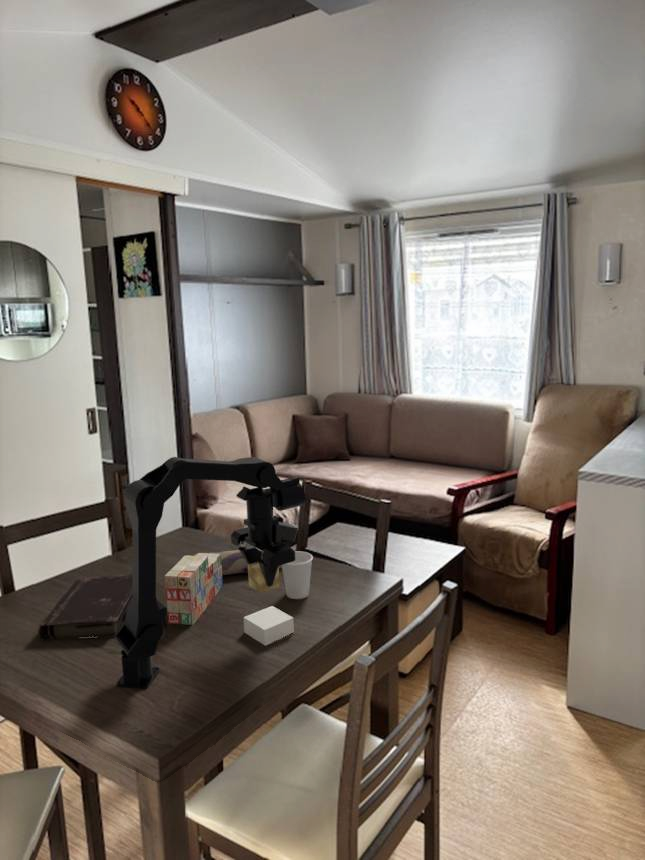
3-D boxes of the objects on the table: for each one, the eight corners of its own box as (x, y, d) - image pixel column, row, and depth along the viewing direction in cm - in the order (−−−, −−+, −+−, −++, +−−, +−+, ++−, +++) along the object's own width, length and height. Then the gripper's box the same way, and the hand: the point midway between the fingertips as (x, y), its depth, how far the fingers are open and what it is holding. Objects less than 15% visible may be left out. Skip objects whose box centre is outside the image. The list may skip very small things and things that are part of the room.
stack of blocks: (200, 585, 170) (198, 541, 168) (223, 586, 169) (220, 542, 167) (167, 624, 150) (164, 575, 147) (192, 626, 148) (189, 576, 146)
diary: (38, 644, 143) (35, 623, 142) (76, 594, 168) (74, 577, 167) (121, 639, 144) (119, 619, 143) (147, 591, 168) (145, 573, 167)
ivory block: (293, 634, 144) (293, 617, 143) (265, 646, 139) (264, 630, 138) (272, 621, 150) (272, 605, 149) (244, 633, 145) (243, 617, 144)
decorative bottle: (194, 583, 171) (193, 560, 170) (193, 572, 179) (192, 550, 177) (289, 572, 177) (288, 549, 176) (284, 562, 184) (283, 540, 183)
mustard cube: (279, 586, 142) (278, 565, 141) (260, 593, 139) (258, 571, 138) (268, 579, 146) (267, 558, 145) (248, 585, 143) (247, 564, 142)
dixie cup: (317, 588, 166) (316, 552, 164) (308, 603, 158) (307, 565, 156) (287, 585, 168) (286, 549, 166) (276, 599, 160) (275, 562, 158)
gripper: (315, 517, 136) (317, 586, 139) (270, 498, 151) (273, 559, 154) (270, 529, 130) (273, 601, 133) (227, 507, 145) (232, 572, 148)
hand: (263, 581), depth 142 cm, fingers closed on mustard cube, 5 cm apart
